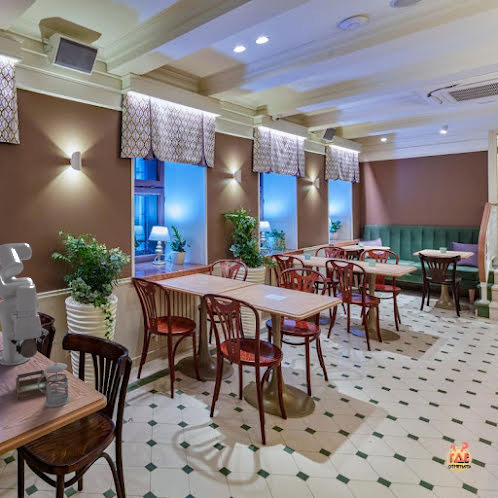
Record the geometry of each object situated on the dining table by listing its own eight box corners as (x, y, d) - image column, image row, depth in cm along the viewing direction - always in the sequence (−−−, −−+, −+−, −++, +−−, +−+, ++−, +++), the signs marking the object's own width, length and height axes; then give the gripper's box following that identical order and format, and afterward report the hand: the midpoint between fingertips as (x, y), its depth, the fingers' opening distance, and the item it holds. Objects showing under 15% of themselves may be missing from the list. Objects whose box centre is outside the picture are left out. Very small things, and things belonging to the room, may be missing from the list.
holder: (17, 388, 161) (17, 381, 160) (48, 381, 167) (47, 375, 166) (17, 400, 151) (17, 393, 150) (50, 392, 157) (50, 385, 157)
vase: (29, 360, 165) (29, 341, 163) (16, 358, 166) (15, 339, 165) (41, 353, 171) (40, 335, 170) (28, 352, 173) (27, 333, 171)
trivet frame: (17, 376, 171) (17, 374, 171) (43, 371, 176) (43, 369, 176) (17, 386, 162) (17, 384, 162) (45, 380, 167) (45, 378, 167)
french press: (74, 401, 150) (71, 341, 147) (42, 411, 143) (38, 348, 140) (67, 391, 158) (64, 334, 155) (36, 401, 150) (32, 340, 147)
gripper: (3, 318, 158) (6, 358, 160) (50, 312, 167) (51, 350, 170) (3, 313, 164) (5, 352, 167) (48, 308, 173) (49, 344, 176)
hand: (29, 351), depth 168 cm, fingers closed on vase, 6 cm apart
